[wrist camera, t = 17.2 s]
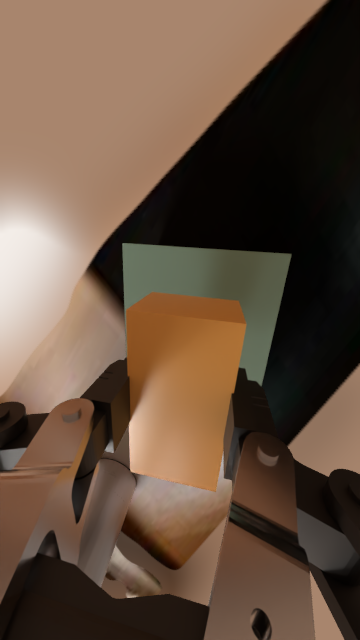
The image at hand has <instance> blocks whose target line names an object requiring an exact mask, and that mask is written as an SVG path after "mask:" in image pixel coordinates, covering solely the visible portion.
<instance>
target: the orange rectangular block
mask: <svg viewBox="0 0 360 640" xmlns="http://www.w3.org/2000/svg"><path fill="white" fill-rule="evenodd" d="M246 325H247V324H246V321H245V318H244V315H243V312H242V309H241V306H240V303H239V301H236V300H226V299H216V298H207V297H197V296H187V295H178V294H168V293H158V292H151V293H150V294H148V295H147V296H145V297H144V298H142V299H141V300H140V301H138V302H137V303H135V304H134V305H132V306H131V307H129V308H128V309H126V332H127V370H128V376H129V378H130V422H129V447H130V472H133V473H137V474H141V475H146V476H150V477H154V478H158V479H163V480H167V481H171V482H176V483H180V484H184V485H188V486H193V487H197V488H201V489H205V490H210V491H214V492H216V487H217V482H218V477H219V471H220V466H221V460H222V455H223V449H224V447H223V438H224V433H225V427H226V421H227V416H228V410H229V405H230V399H231V394H232V393H234V390H235V384H236V379H237V374H238V368H239V363H240V357H241V352H242V346H243V341H244V336H245V330H246Z"/></svg>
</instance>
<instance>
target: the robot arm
mask: <svg viewBox="0 0 360 640" xmlns="http://www.w3.org/2000/svg"><path fill="white" fill-rule="evenodd" d="M129 422H130V378H129V376H128V370H127V357H126V358H125V359H124V360H118V361H116V362H114V363H112V364H111V365H110V366H109V367H108V368H107V369H106V370H105V371H104V373H102V374H101V375H100V376H99V378H98V379H97V380H96V381H95V382H94V383H93V384H92V385H91V386H90V387H89V388H88V389H87V391H86V392H85V393H84V394H83V395H82V396H81V397H80V398H75V399H70V400H67V401H64V402H62V403H60V404H59V405H57V406H56V407H55V408H54V409H53V410H52V411H51V412H50V413H43V414H30V415H27V414H26V409H25V406H24V405H23V404H21V403H19V402H6V403H2V404H0V640H315V630H314V620H313V606H312V594H311V581H310V571H311V573H312V575H313V577H314V579H315V581H316V583H317V585H318V587H319V589H320V591H321V593H322V595H323V597H324V599H325V601H326V603H327V605H328V607H329V609H330V611H331V613H332V615H333V617H334V619H335V621H336V623H337V625H338V627H339V629H340V631H341V633H342V635H343V637H344V639H345V640H360V474H358V473H356V472H353V471H350V470H346V469H337V470H334V471H332V472H331V474H330V476H329V477H327V476H325V475H323V474H321V473H319V472H317V471H315V470H313V469H311V468H308V467H306V466H304V465H303V464H301V463H299V462H298V461H296V460H295V459H294V458H293V456H292V453H291V452H290V450H289V449H288V447H287V446H286V445H285V444H284V443H283V442H282V441H281V440H279V438H278V435H277V432H276V429H275V425H274V422H273V419H272V415H271V412H270V409H269V405H268V402H267V400H266V395H265V392H264V389H263V388H262V387H261V386H260V385H259V383H258V382H257V381H252V380H248V378H247V373H246V369H245V368H240V367H239V368H238V374H237V379H236V384H235V390H234V393H232V394H231V399H230V405H229V410H228V416H227V421H226V427H225V433H224V438H223V447H224V478H225V479H230V480H232V496H231V501H230V506H229V510H228V515H227V520H226V525H225V530H224V534H223V539H222V544H221V548H220V553H219V558H218V563H217V568H216V572H215V577H214V581H213V586H212V591H211V595H210V600H209V604H208V606H206V605H202V604H199V603H196V602H193V601H190V600H186V599H183V598H180V597H177V596H174V595H170V594H165V595H154V596H144V597H134V598H124V599H115V598H112V597H111V596H110V595H108V594H107V593H106V592H105V591H104V590H103V589H102V588H101V585H102V582H103V579H104V576H105V574H106V571H107V568H108V565H109V562H110V559H111V556H112V553H113V551H114V548H115V545H116V542H117V539H118V536H119V533H120V530H121V528H122V525H123V522H124V519H125V516H126V513H127V511H128V508H129V505H130V502H131V499H132V496H133V493H134V490H135V487H136V481H135V478H134V476H133V474H132V473H131V472H130V471H129V470H128V469H127V468H126V467H125V466H123V465H122V464H120V463H118V462H116V461H113V460H110V459H100V458H101V456H102V454H103V453H104V451H107V452H111V453H114V452H115V450H116V448H117V446H118V444H119V442H120V440H121V438H122V436H123V434H124V432H125V430H126V428H127V426H128V424H129ZM309 569H310V570H309Z"/></svg>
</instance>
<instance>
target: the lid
mask: <svg viewBox="0 0 360 640" xmlns="http://www.w3.org/2000/svg"><path fill="white" fill-rule="evenodd" d="M122 244H123V274H124V304H125V334H126V357H127V332H126V309H128V308H129V307H131V306H132V305H134V304H135V303H137V302H138V301H140V300H141V299H142V298H144V297H145V296H147V295H148V294H150V293H151V292H158V293H168V294H178V295H187V296H197V297H207V298H216V299H226V300H236V301H239V303H240V306H241V309H242V312H243V315H244V318H245V321H246V324H247V325H246V330H245V336H244V341H243V346H242V352H241V357H240V363H239V367H240V368H245V369H246V373H247V378H248V380H252V381H257V382H258V383H259V385H260V386H262V381H263V377H264V373H265V368H266V364H267V359H268V355H269V351H270V346H271V342H272V337H273V333H274V329H275V324H276V320H277V316H278V311H279V307H280V302H281V298H282V294H283V289H284V285H285V280H286V276H287V272H288V267H289V263H290V259H291V254H284V253H268V252H253V251H237V250H222V249H206V248H191V247H175V246H160V245H144V244H129V243H122Z"/></svg>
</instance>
